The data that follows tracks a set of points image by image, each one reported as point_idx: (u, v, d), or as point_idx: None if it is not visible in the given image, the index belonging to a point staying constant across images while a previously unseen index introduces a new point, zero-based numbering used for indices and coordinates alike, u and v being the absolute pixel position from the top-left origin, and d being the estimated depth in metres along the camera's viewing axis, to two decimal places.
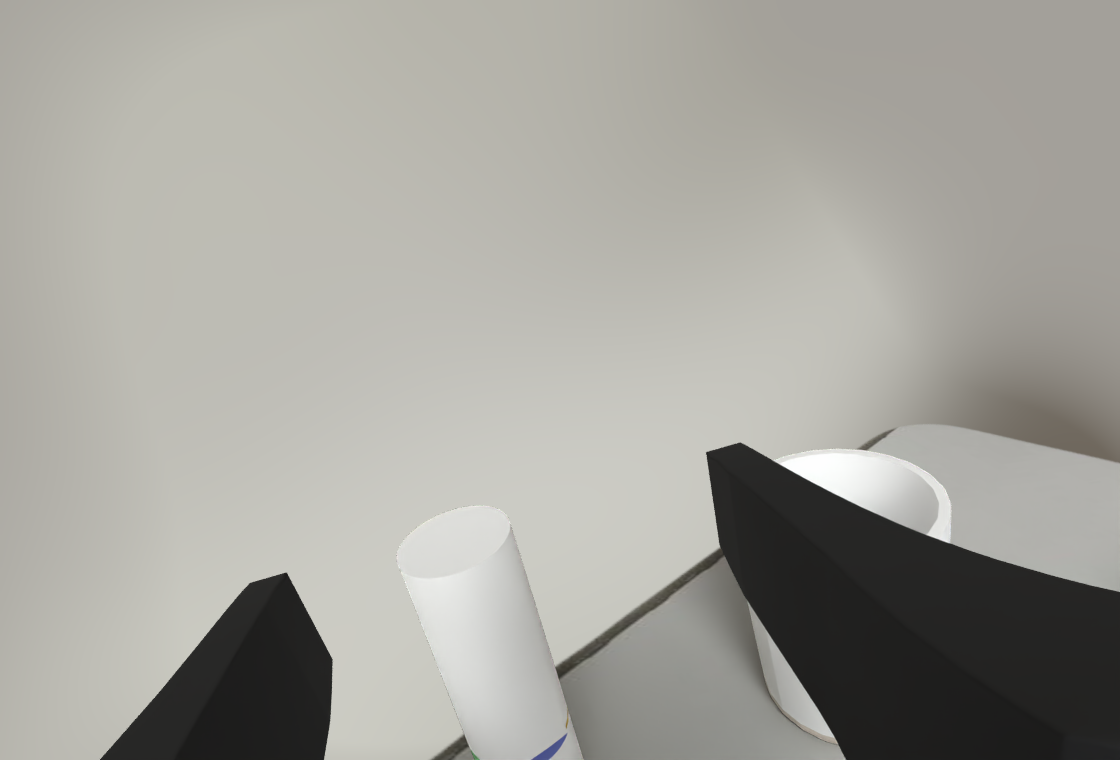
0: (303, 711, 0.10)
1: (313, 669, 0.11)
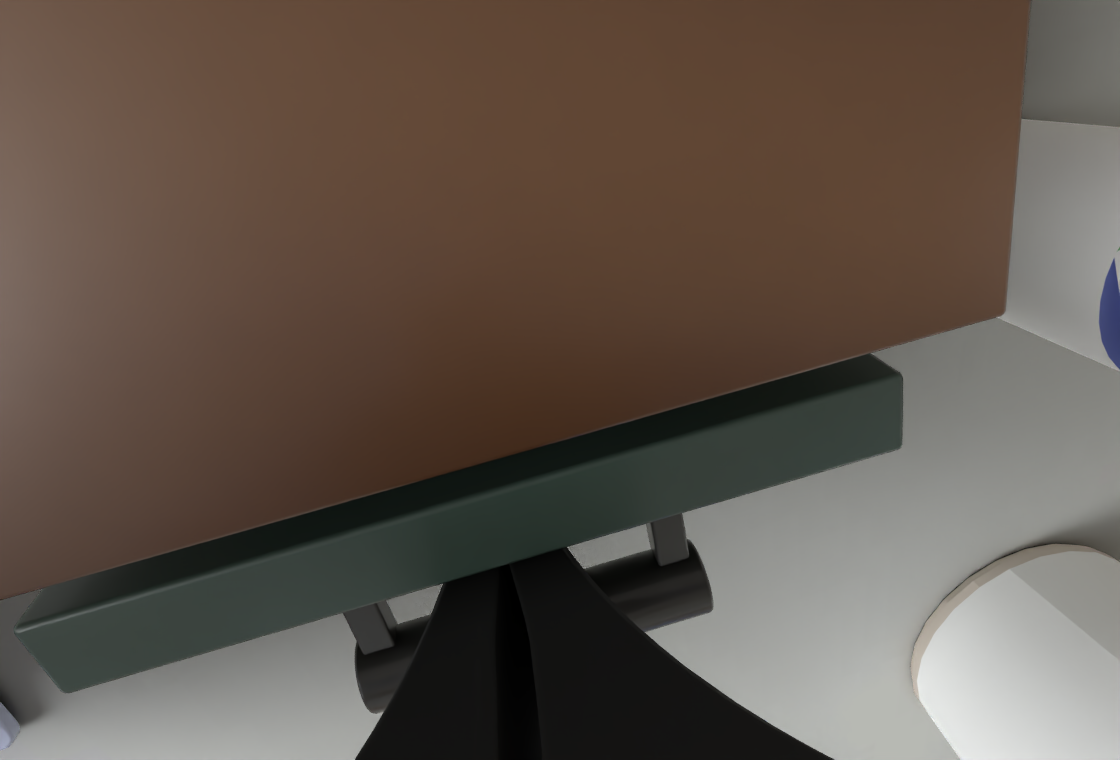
0: (530, 643, 0.10)
1: None
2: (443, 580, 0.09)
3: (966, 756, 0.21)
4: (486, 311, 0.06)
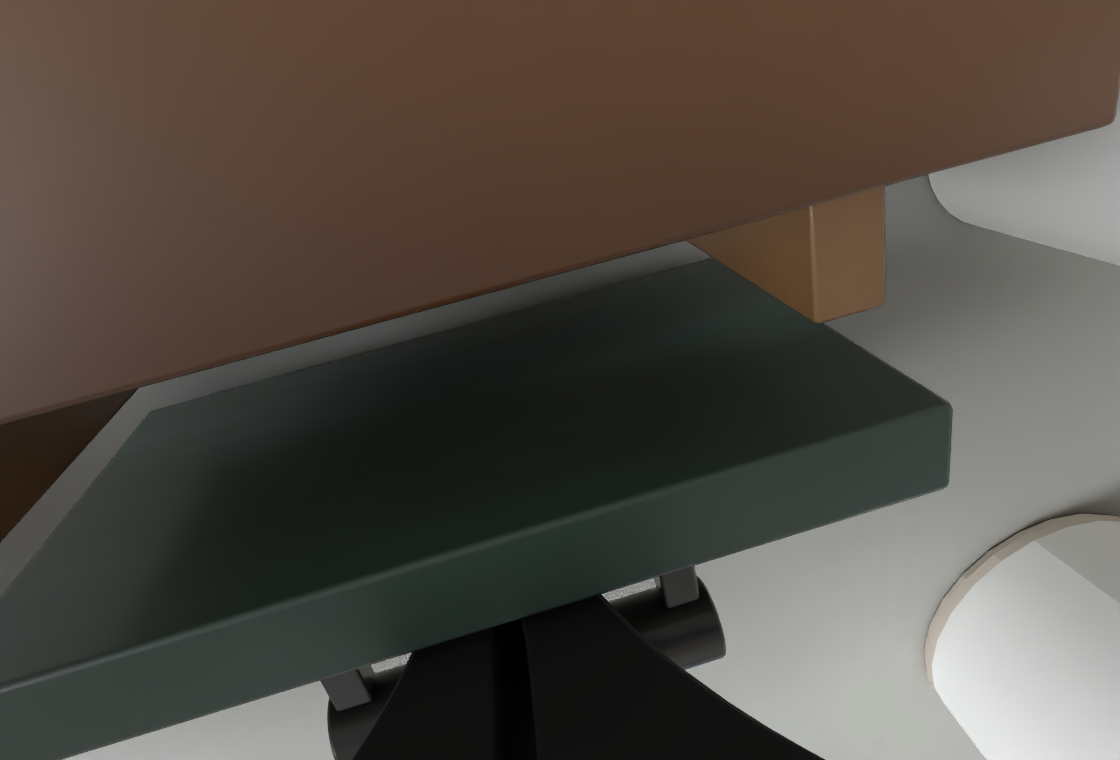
0: None
1: None
2: (422, 645, 0.08)
3: (989, 747, 0.19)
4: (386, 70, 0.04)
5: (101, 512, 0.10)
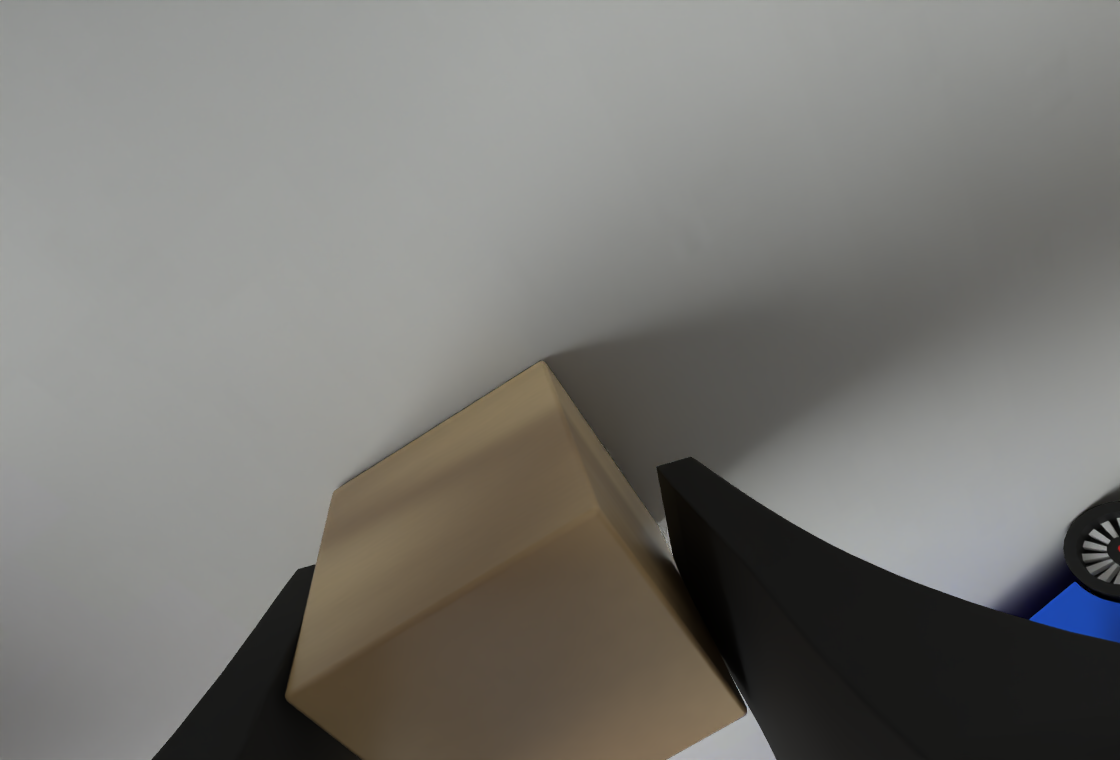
0: None
1: None
2: None
3: None
4: None
5: None
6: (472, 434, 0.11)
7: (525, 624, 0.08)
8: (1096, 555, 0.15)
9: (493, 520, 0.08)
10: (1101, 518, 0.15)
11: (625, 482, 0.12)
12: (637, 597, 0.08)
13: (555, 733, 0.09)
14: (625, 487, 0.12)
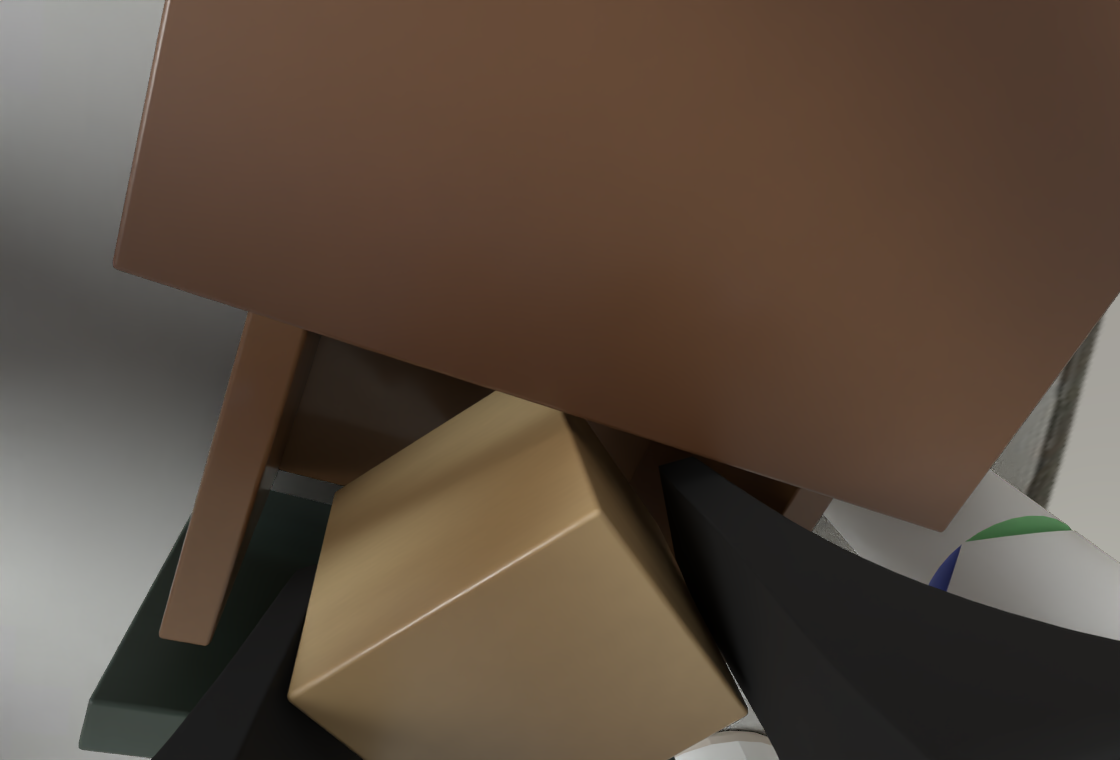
0: None
1: None
2: None
3: None
4: (714, 344, 0.09)
5: None
6: (473, 435, 0.11)
7: (527, 625, 0.08)
8: None
9: (494, 520, 0.09)
10: None
11: (626, 482, 0.12)
12: (638, 598, 0.08)
13: (556, 734, 0.09)
14: (626, 488, 0.12)
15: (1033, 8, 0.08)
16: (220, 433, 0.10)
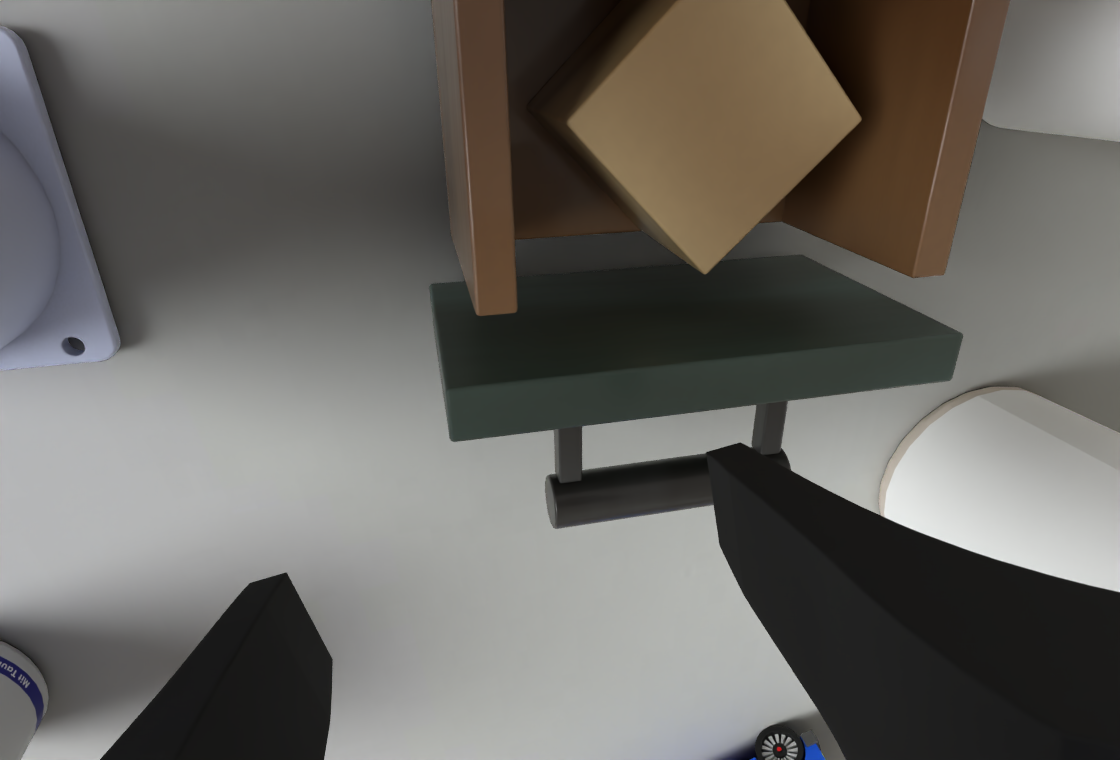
0: (303, 711, 0.10)
1: (313, 669, 0.11)
2: (684, 412, 0.14)
3: None
4: None
5: (464, 327, 0.16)
6: (623, 9, 0.15)
7: (707, 41, 0.12)
8: (767, 748, 0.32)
9: None
10: (775, 732, 0.32)
11: None
12: (775, 9, 0.12)
13: (736, 145, 0.13)
14: None
15: None
16: (464, 81, 0.11)
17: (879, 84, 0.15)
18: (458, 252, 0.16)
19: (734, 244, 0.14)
